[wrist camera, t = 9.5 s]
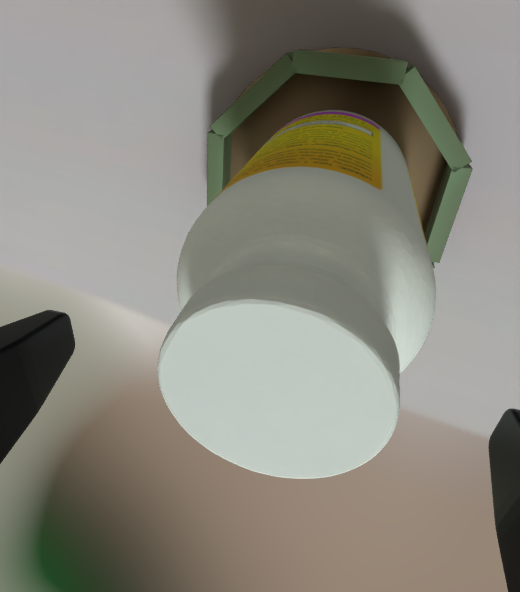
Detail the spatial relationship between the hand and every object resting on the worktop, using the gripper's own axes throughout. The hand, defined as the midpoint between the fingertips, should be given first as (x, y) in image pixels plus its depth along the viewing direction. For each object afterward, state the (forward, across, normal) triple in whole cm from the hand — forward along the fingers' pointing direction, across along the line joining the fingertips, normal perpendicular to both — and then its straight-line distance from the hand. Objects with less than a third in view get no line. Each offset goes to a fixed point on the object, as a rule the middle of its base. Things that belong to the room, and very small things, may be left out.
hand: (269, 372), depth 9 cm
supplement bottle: (+12, 0, 0) cm, 12 cm away
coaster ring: (+13, 0, 0) cm, 13 cm away
